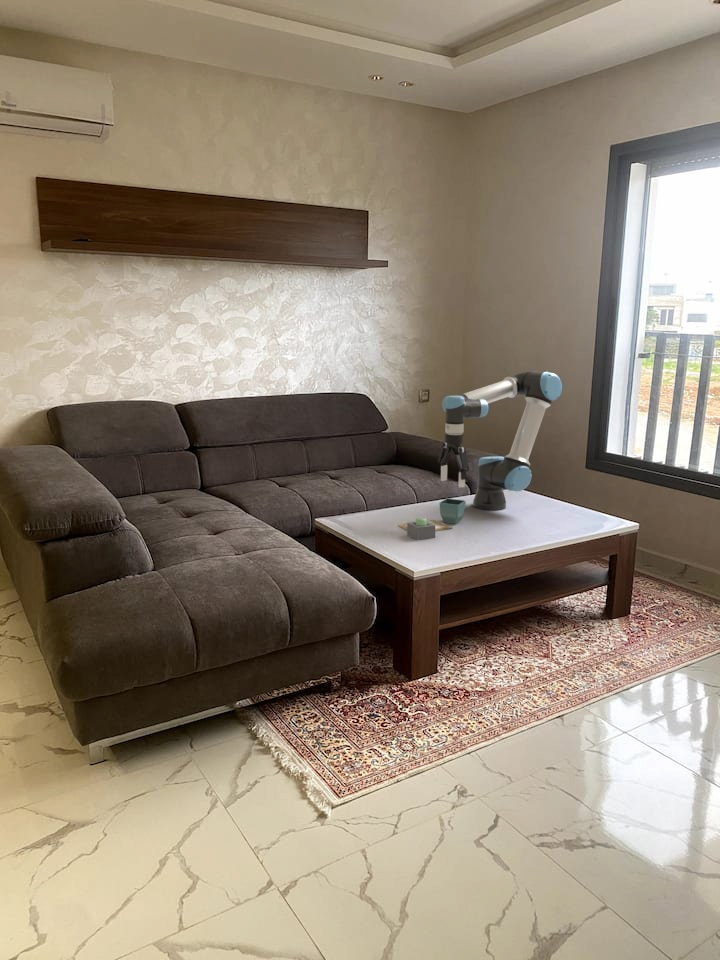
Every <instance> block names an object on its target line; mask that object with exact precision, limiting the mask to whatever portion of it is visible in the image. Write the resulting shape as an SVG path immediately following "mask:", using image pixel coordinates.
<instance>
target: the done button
mask: <svg viewBox="0 0 720 960" xmlns="http://www.w3.org/2000/svg"><path fill="white" fill-rule="evenodd" d="M427 521H428V518H425V517H416V518H415V522H416V525H417V526H426V525H427Z"/></svg>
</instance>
